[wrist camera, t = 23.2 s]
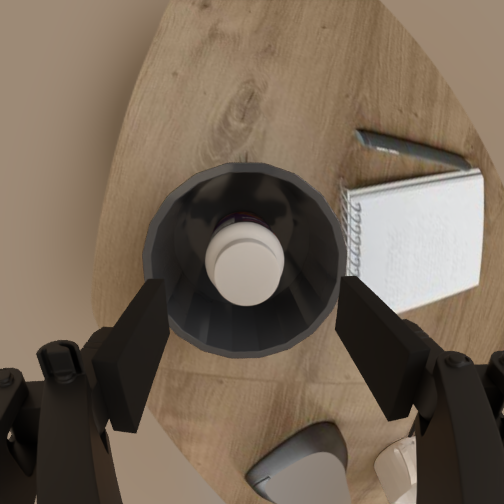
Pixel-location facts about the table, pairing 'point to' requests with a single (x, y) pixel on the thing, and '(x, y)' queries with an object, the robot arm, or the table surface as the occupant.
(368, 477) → the table surface
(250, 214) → the pill bottle
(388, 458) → the mug
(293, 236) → the canister
